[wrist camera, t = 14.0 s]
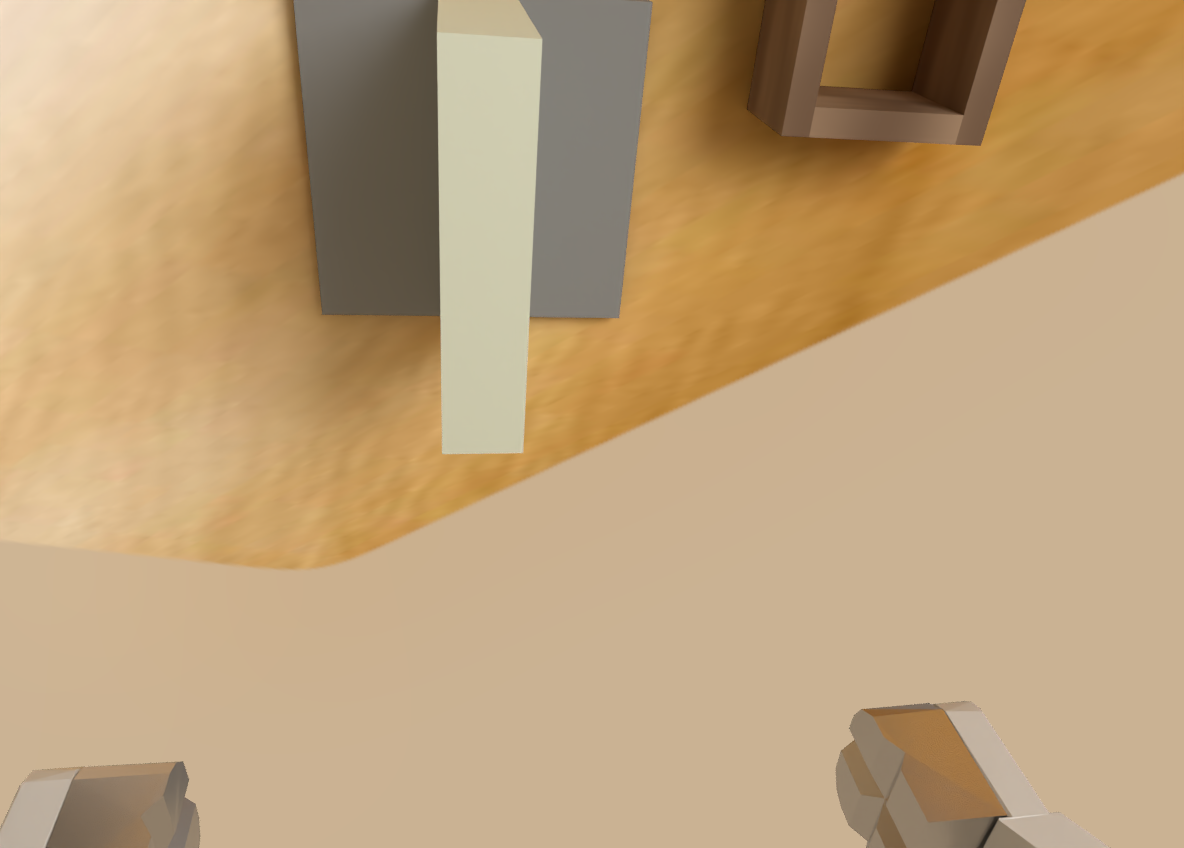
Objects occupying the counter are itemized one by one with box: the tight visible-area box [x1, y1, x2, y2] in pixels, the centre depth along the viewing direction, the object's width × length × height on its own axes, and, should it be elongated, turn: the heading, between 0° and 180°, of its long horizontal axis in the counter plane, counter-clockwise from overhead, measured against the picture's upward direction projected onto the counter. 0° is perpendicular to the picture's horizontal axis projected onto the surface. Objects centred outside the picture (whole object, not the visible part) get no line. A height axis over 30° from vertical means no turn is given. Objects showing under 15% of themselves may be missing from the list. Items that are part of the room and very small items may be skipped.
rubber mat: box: [293, 0, 652, 318], centre depth 32 cm, size 12×12×1 cm
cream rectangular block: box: [437, 0, 542, 454], centre depth 28 cm, size 2×12×10 cm, turn 175°
